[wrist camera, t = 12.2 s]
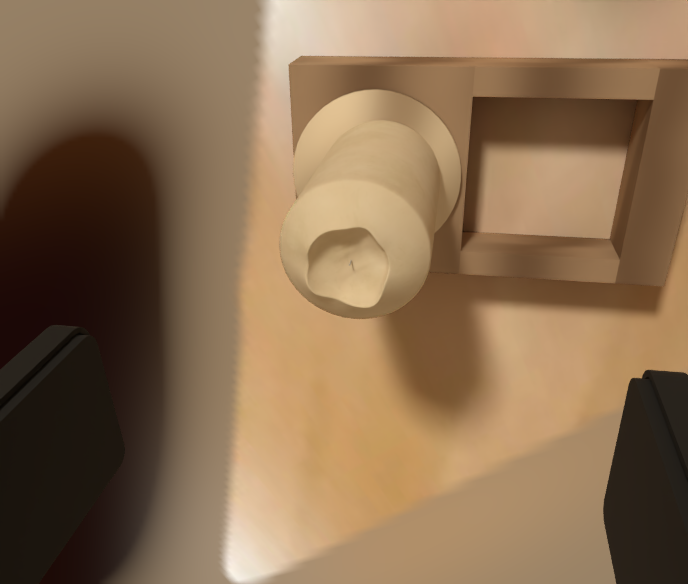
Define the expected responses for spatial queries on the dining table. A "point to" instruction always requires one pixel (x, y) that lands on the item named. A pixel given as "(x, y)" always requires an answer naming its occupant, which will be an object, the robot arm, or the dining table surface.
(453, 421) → the dining table surface
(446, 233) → the wooden holder tray
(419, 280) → the candle
